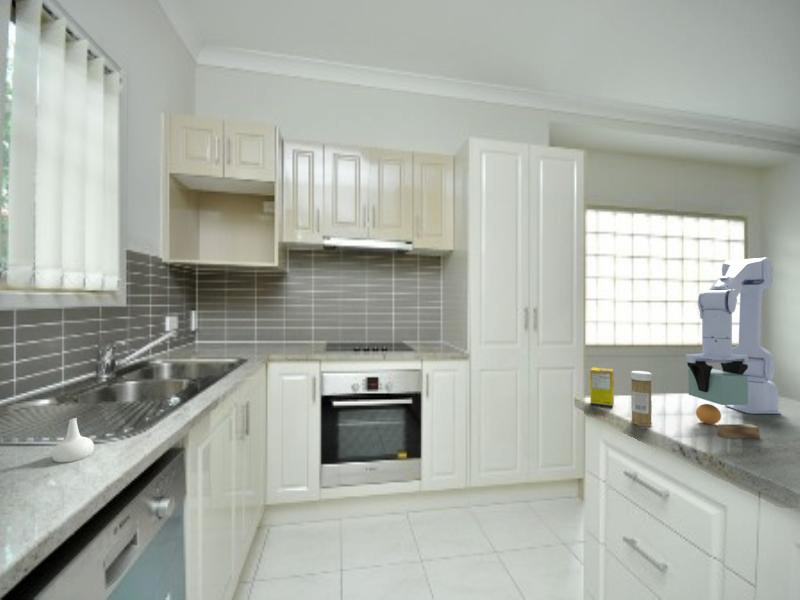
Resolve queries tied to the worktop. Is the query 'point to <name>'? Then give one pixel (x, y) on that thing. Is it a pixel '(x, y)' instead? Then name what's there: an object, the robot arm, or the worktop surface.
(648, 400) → the sprinkles bottle
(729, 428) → the strip
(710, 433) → the worktop surface
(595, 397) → the supplement box
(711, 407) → the ball
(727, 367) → the robot arm
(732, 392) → the pale mint block
